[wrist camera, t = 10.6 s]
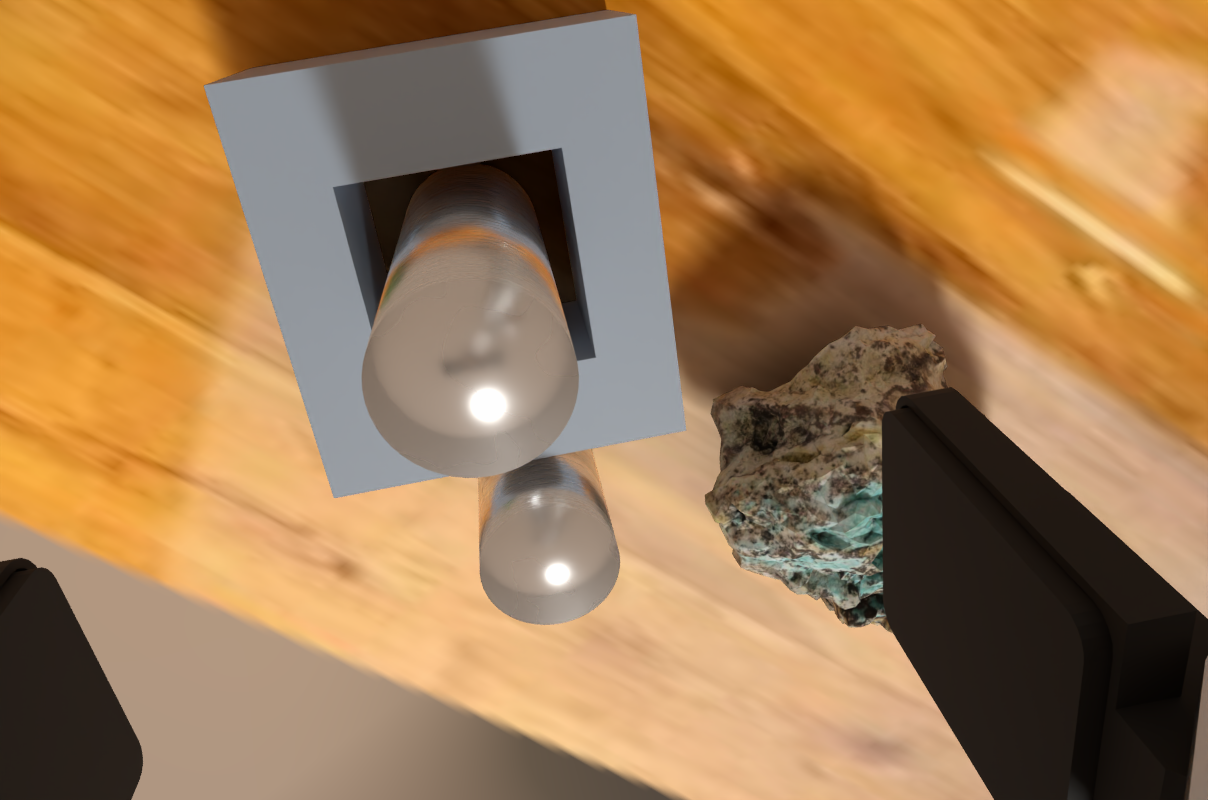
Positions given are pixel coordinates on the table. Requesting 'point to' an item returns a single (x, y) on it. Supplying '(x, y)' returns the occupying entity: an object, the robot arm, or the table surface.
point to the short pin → (547, 539)
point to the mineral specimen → (819, 467)
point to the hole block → (439, 140)
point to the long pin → (470, 331)
